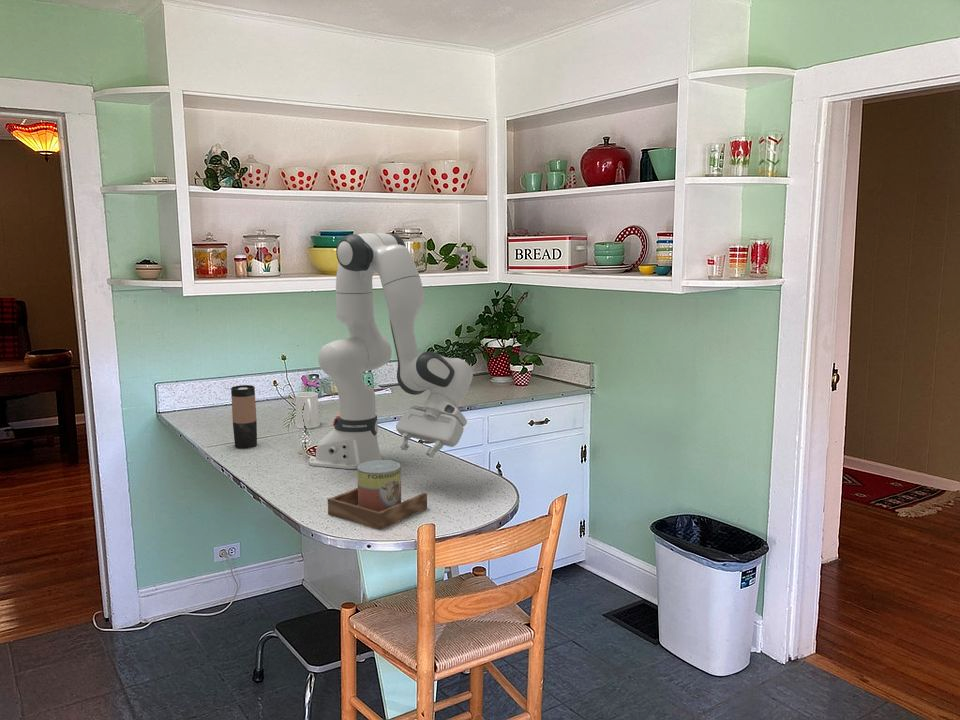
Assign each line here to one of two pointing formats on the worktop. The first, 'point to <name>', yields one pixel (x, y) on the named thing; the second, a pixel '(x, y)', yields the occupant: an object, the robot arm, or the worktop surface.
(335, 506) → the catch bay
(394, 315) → the robot arm
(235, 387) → the travel mug
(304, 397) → the mug
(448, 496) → the worktop surface
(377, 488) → the canned food
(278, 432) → the worktop surface
